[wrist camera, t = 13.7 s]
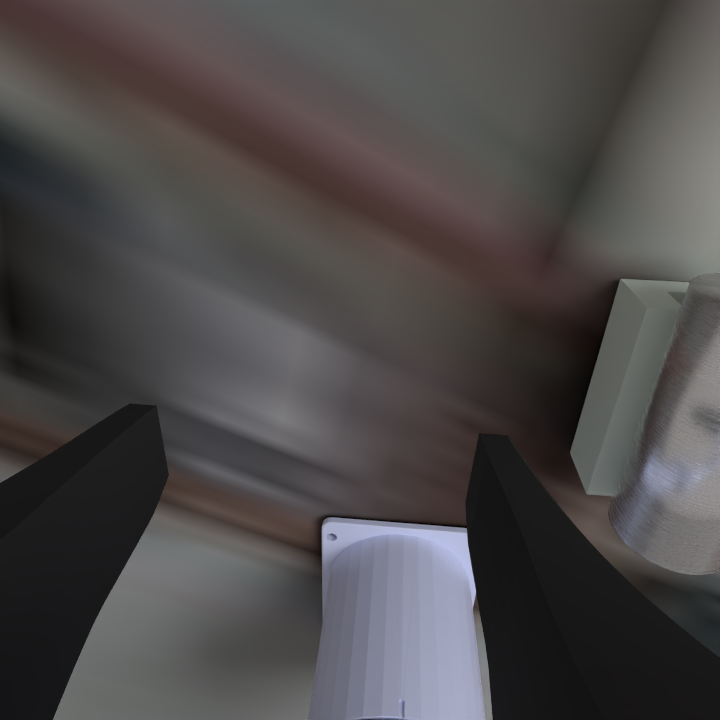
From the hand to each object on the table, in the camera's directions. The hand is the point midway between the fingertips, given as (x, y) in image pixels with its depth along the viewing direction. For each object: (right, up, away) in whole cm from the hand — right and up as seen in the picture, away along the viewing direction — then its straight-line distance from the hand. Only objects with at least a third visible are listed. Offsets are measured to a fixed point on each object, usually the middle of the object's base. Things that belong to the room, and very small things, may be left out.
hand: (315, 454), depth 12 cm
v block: (+13, +1, +9) cm, 15 cm away
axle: (+12, 0, +5) cm, 13 cm away
